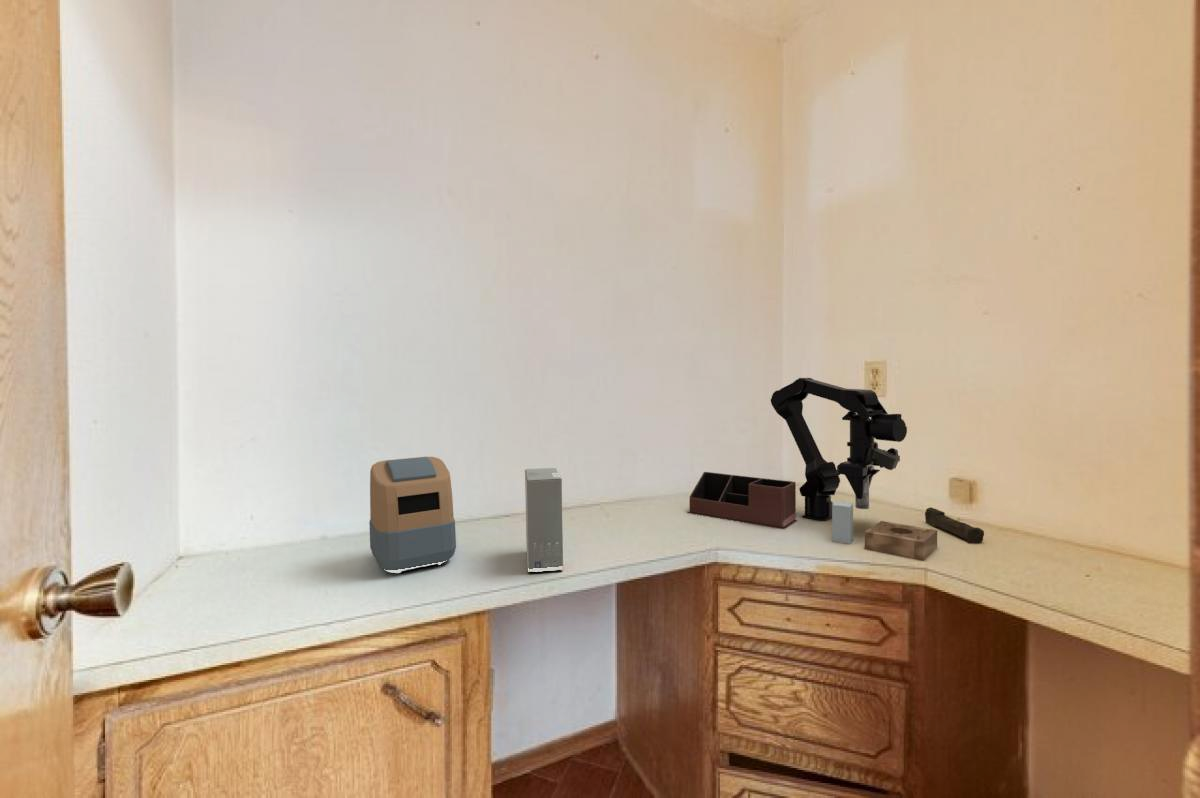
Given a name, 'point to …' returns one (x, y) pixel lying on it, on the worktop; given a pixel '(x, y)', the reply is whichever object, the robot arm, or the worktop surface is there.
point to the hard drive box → (543, 518)
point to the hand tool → (953, 526)
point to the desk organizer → (745, 499)
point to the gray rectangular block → (842, 522)
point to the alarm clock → (411, 513)
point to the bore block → (901, 540)
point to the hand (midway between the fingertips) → (862, 497)
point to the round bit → (864, 501)
